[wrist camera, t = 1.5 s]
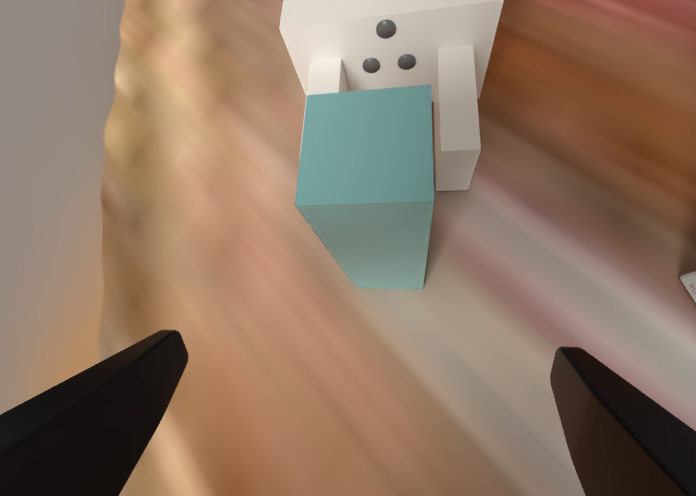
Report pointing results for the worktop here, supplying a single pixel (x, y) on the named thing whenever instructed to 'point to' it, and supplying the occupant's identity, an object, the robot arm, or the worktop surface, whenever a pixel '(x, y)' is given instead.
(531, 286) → the worktop surface
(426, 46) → the socket
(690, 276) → the supplement box
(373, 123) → the teal rectangular block
